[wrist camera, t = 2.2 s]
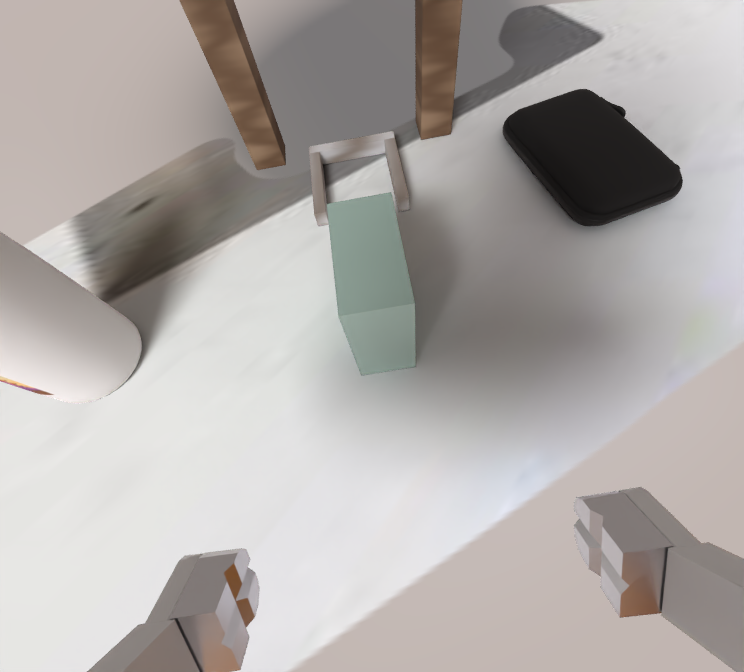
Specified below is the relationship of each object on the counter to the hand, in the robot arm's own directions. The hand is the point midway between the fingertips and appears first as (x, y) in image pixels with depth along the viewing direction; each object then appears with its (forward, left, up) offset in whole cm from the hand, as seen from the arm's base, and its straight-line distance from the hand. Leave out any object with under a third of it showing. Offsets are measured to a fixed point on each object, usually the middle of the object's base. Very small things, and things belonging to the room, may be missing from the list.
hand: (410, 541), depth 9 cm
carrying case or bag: (+21, +27, -16) cm, 38 cm away
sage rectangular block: (0, +14, -15) cm, 21 cm away
